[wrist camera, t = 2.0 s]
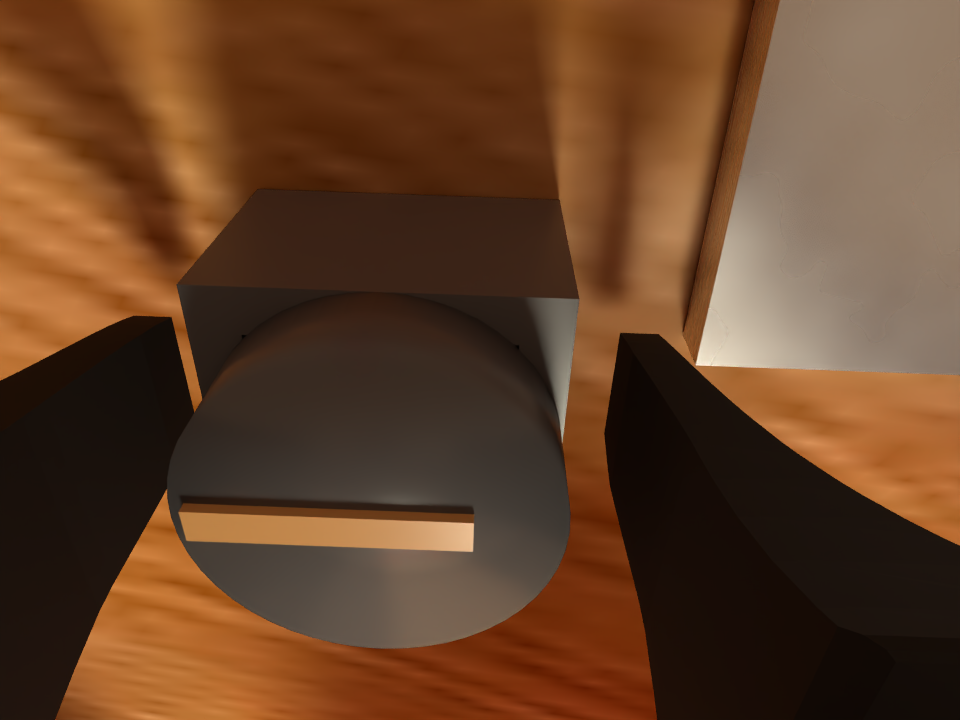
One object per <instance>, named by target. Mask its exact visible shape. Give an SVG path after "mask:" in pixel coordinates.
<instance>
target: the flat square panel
mask: <svg viewBox="0 0 960 720" xmlns="http://www.w3.org/2000/svg"><path fill="white" fill-rule="evenodd" d="M683 337H684V339H685V341H686V344H687V346H688V348H689V351H690V353H691V356H692V358H693V360H694V363H695V365H703V366H730V367H757V368H784V369H811V370H838V371H865V372H892V373H919V374H946V375H960V0H755V1H754V6H753V11H752V16H751V20H750V25H749V30H748V34H747V39H746V44H745V48H744V53H743V58H742V62H741V67H740V72H739V76H738V81H737V86H736V90H735V95H734V100H733V104H732V109H731V114H730V118H729V123H728V128H727V132H726V137H725V142H724V146H723V151H722V156H721V160H720V165H719V170H718V174H717V179H716V184H715V188H714V193H713V198H712V202H711V207H710V212H709V216H708V221H707V226H706V230H705V235H704V240H703V244H702V249H701V254H700V259H699V263H698V268H697V273H696V277H695V282H694V287H693V291H692V296H691V301H690V305H689V310H688V315H687V319H686V324H685V329H684V333H683Z"/></svg>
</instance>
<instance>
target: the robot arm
mask: <svg viewBox="0 0 960 720" xmlns="http://www.w3.org/2000/svg"><path fill="white" fill-rule="evenodd" d="M193 414H194V410H193V405H192V401H191V397H190V393H189V389H188V384H187V380H186V376H185V372H184V368H183V364H182V359H181V355H180V351H179V347H178V343H177V338H176V334H175V330H174V326H173V322H172V317H154V316H132V317H129V318H127V319H124V320H121V321H119V322H117V323H114V324H112V325H110V326H108V327H106V328H104V329H102V330H100V331H98V332H95V333H93V334H91V335H89V336H88V337H86V338H84V339H82V340H80V341H78V342H76V343H74V344H72V345H70V346H68V347H66V348H64V349H62V350H60V351H58V352H56V353H54V354H52V355H51V356H49V357H47V358H45V359H43V360H41V361H39V362H37V363H35V364H33V365H31V366H29V367H27V368H25V369H23V370H21V371H19V372H17V373H15V374H13V375H11V376H9V377H7V378H5V379H3V380H1V381H0V720H55V718H56V716H57V713H58V710H59V708H60V705H61V703H62V700H63V698H64V695H65V693H66V690H67V687H68V685H69V682H70V680H71V677H72V675H73V672H74V670H75V667H76V665H77V663H78V660H79V658H80V655H81V653H82V651H83V648H84V646H85V644H86V641H87V639H88V637H89V634H90V632H91V630H92V627H93V625H94V623H95V620H96V618H97V616H98V613H99V611H100V609H101V607H102V605H103V603H104V601H105V599H106V597H107V595H108V593H109V591H110V589H111V587H112V585H113V584H114V582H115V580H116V578H117V576H118V575H119V573H120V571H121V569H122V568H123V566H124V564H125V562H126V561H127V559H128V557H129V555H130V553H131V552H132V550H133V548H134V546H135V545H136V543H137V541H138V539H139V538H140V536H141V534H142V532H143V530H144V529H145V527H146V525H147V523H148V522H149V520H150V518H151V516H152V515H153V513H154V511H155V509H156V507H157V506H158V504H159V502H160V500H161V498H162V497H163V495H164V493H165V491H166V489H167V477H168V471H169V465H170V459H171V457H172V454H173V452H174V449H175V446H176V444H177V441H178V439H179V438H180V436H181V434H182V433H183V431H184V429H185V428H186V426H187V424H188V423H189V421H190V419H191V418H192V416H193ZM604 435H605V445H606V455H607V464H608V473H609V481H610V488H611V492H612V496H613V500H614V504H615V508H616V512H617V516H618V521H619V525H620V529H621V533H622V536H623V540H624V544H625V548H626V552H627V556H628V560H629V564H630V568H631V572H632V576H633V580H634V584H635V588H636V592H637V596H638V600H639V604H640V608H641V613H642V618H643V623H644V628H645V633H646V640H647V647H648V655H649V662H650V669H651V676H652V683H653V690H654V697H655V705H656V713H657V720H960V546H959V545H957V544H955V543H953V542H951V541H948V540H946V539H944V538H942V537H940V536H938V535H936V534H934V533H932V532H930V531H928V530H926V529H924V528H922V527H920V526H918V525H916V524H914V523H912V522H910V521H908V520H906V519H904V518H903V517H901V516H899V515H897V514H895V513H894V512H892V511H890V510H888V509H886V508H885V507H883V506H881V505H879V504H877V503H876V502H874V501H872V500H870V499H868V498H867V497H865V496H863V495H861V494H860V493H858V492H856V491H855V490H853V489H851V488H850V487H848V486H846V485H845V484H843V483H841V482H840V481H838V480H837V479H835V478H833V477H832V476H830V475H829V474H827V473H826V472H824V471H823V470H821V469H820V468H818V467H817V466H815V465H814V464H812V463H811V462H809V461H808V460H806V459H805V458H803V457H802V456H800V455H799V454H797V453H796V452H795V451H793V450H792V449H790V448H789V447H788V446H786V445H785V444H784V443H782V442H781V441H780V440H778V439H777V438H776V437H774V436H773V435H772V434H771V433H769V432H768V431H767V430H766V429H764V428H763V427H762V426H760V425H759V424H758V423H757V422H755V421H754V420H753V419H752V418H750V417H749V416H748V415H747V414H746V413H744V412H743V411H742V410H741V409H740V408H738V407H737V406H736V405H735V404H734V403H733V402H731V401H730V400H729V399H728V398H727V397H726V396H725V395H724V394H722V393H721V392H720V391H719V390H718V389H717V388H716V387H715V386H714V385H712V384H711V383H710V382H709V381H708V380H707V379H706V378H705V377H704V376H703V375H702V374H701V373H700V372H698V371H697V370H696V369H695V368H694V367H693V366H692V365H691V364H690V363H689V362H688V361H687V360H686V359H685V358H684V357H683V356H682V355H681V354H680V353H678V352H677V351H676V350H675V349H674V348H673V347H672V346H671V345H670V344H669V343H668V342H667V341H666V340H665V339H663V338H662V337H661V336H660V335H659V334H634V333H620V338H619V344H618V350H617V357H616V363H615V369H614V376H613V382H612V388H611V395H610V401H609V407H608V414H607V420H606V426H605V433H604Z"/></svg>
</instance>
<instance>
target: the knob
mask: <svg viewBox="0 0 960 720" xmlns="http://www.w3.org/2000/svg"><path fill="white" fill-rule="evenodd" d="M177 288H178V293H179V297H180V302H181V306H182V310H183V315H184V319H185V324H186V328H187V332H188V337H189V341H190V346H191V350H192V355H193V359H194V363H195V368H196V372H197V377H198V381H199V385H200V390H201V394H202V401H201V403H200V404H199V406H198V408H197V409H196V411H195V413H194V414H193V416H192V418H191V419H190V421H189V423H188V424H187V426H186V428H185V429H184V431H183V433H182V434H181V436H180V438H179V439H178V441H177V444H176V446H175V449H174V452H173V454H172V457H171V459H170V465H169V471H168V477H167V499H168V504H169V509H170V514H171V518H172V521H173V523H174V526H175V529H176V531H177V534H178V536H179V538H180V540H181V542H182V543H183V545H184V547H185V549H186V550H187V552H188V554H189V555H190V556H191V558H192V559H193V560H194V562H195V563H196V564H197V566H198V567H199V568H200V570H201V571H202V572H203V573H204V574H205V575H206V576H207V577H208V578H209V579H210V580H211V581H212V582H213V583H214V584H215V585H216V586H217V587H218V588H220V589H221V590H222V591H223V592H224V593H226V594H227V595H228V596H229V597H231V598H232V599H233V600H235V601H236V602H238V603H239V604H241V605H242V606H244V607H245V608H247V609H248V610H250V611H251V612H253V613H255V614H257V615H259V616H261V617H263V618H264V619H266V620H268V621H270V622H272V623H275V624H277V625H279V626H282V627H284V628H286V629H289V630H291V631H294V632H297V633H300V634H303V635H306V636H309V637H312V638H316V639H320V640H324V641H328V642H332V643H338V644H344V645H350V646H356V647H368V648H413V647H425V646H430V645H436V644H442V643H447V642H451V641H455V640H458V639H462V638H466V637H469V636H471V635H474V634H477V633H479V632H482V631H485V630H487V629H489V628H491V627H493V626H495V625H497V624H499V623H501V622H503V621H505V620H506V619H508V618H509V617H511V616H512V615H514V614H515V613H517V612H519V611H520V610H521V609H523V608H524V607H525V606H526V605H527V604H528V603H530V602H531V601H532V600H533V599H534V598H535V597H536V596H537V595H538V594H539V593H540V592H541V591H542V590H543V588H544V587H545V586H546V585H547V584H548V583H549V581H550V580H551V578H552V576H553V575H554V573H555V572H556V570H557V569H558V567H559V565H560V562H561V560H562V558H563V555H564V553H565V550H566V546H567V542H568V537H569V533H570V505H569V496H568V488H567V479H566V470H565V462H564V453H563V444H562V442H563V433H564V425H565V416H566V408H567V399H568V391H569V382H570V374H571V365H572V357H573V348H574V340H575V331H576V323H577V314H578V306H579V295H578V290H577V285H576V280H575V275H574V270H573V265H572V260H571V255H570V250H569V245H568V240H567V235H566V230H565V225H564V220H563V215H562V210H561V205H560V200H548V199H520V198H492V197H464V196H436V195H409V194H381V193H353V192H325V191H297V190H269V189H257V191H256V192H255V193H254V194H253V195H252V196H251V198H250V199H249V200H248V201H247V202H246V204H245V205H244V206H243V207H242V208H241V209H240V211H239V212H238V213H237V214H236V215H235V216H234V218H233V219H232V220H231V221H230V222H229V223H228V225H227V226H226V227H225V228H224V229H223V231H222V232H221V233H220V234H219V235H218V236H217V238H216V239H215V240H214V241H213V242H212V243H211V245H210V246H209V247H208V248H207V249H206V250H205V252H204V253H203V254H202V255H201V256H200V258H199V259H198V260H197V261H196V262H195V263H194V265H193V266H192V267H191V268H190V269H189V270H188V272H187V273H186V274H185V275H184V276H183V277H182V279H181V280H180V281H179V282H178V283H177Z"/></svg>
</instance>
